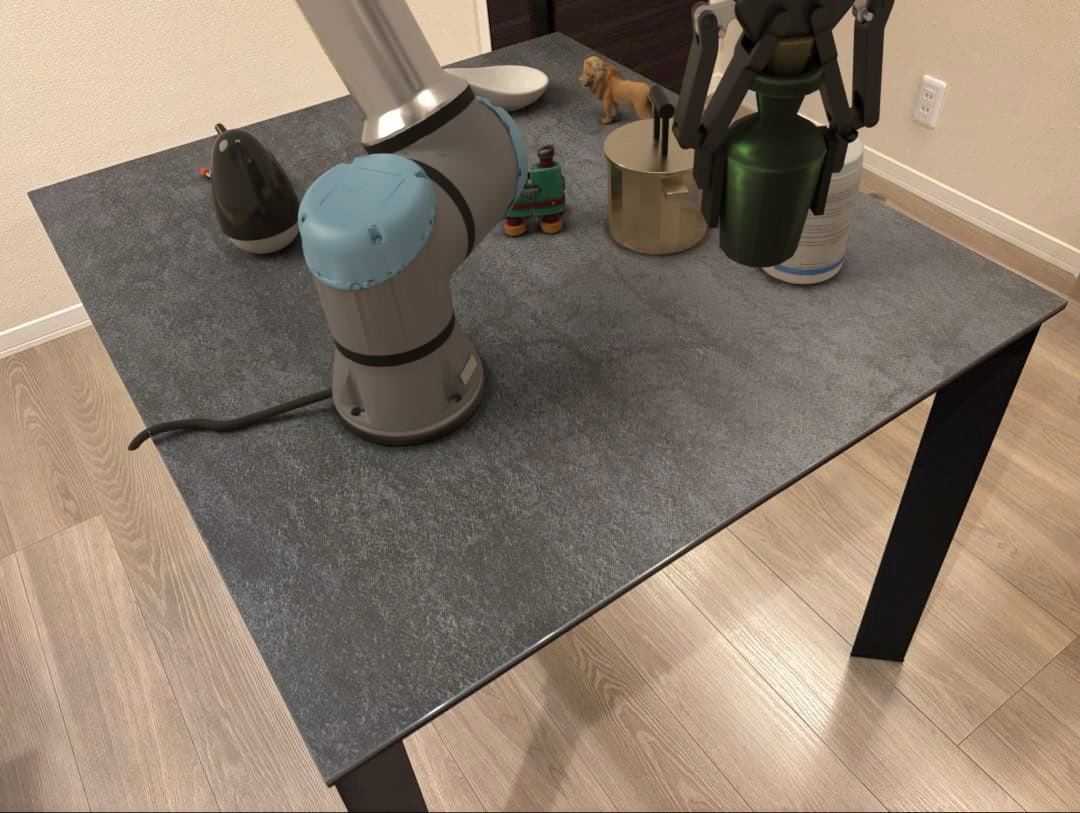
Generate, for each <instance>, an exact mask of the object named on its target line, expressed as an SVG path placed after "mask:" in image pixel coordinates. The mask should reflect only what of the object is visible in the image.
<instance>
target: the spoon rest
mask: <svg viewBox="0 0 1080 813" xmlns="http://www.w3.org/2000/svg"><path fill="white" fill-rule="evenodd" d="M442 69H443V70H444V71H446V72H447V73H450V74H453V75H456V76H459V77H461V78H464V79H466V80H467V81H468V84H469V85H470V87H471V89H472V91H473V93H474V95H475V96H479V97H483V98H486V99H488V100H490V101H492V105H493V106H495V107H501V108H503V109H504V110H505V111H506V112H515V111H520V110H522V109H524V108H526V107H527V106H529V105H531V104H533V103H534V102H536V101H537V100H539V98H540V97H541V96H542V95H543V94H544V92H545V91H546V90H547V88H548V86H549V82H550V81H549V80H550V79H549V77H548V76H547V75H546V73H544V72H543V71H542V70H540V69H537V68H534V67H531V66H524V65H516V64H515V65H513V64H507V65H493V66H484V67H483V66H482V67H456V68H455V67H451V68H442Z"/></svg>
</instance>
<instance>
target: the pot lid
mask: <svg viewBox="0 0 1080 813" xmlns="http://www.w3.org/2000/svg"><path fill="white" fill-rule="evenodd" d="M649 96H650V98H651V100H652V102H653V104H654V112H653V119H645V120H641V119H640V120H635V121H632V122H629V123H626V124H623V125H621V126H619V127H618V128H616V129H614V130H613V131H612V132H610V133H609V135H607V136H606V138H605V139H604V143H603V155H604V157H605V159H606V161H607V160H608V161H609V163H611V164H612V165H613V166H614V167H616V168H618V169H620V170H622V171H624V172H627V173H630V174H634V175H639V176H645V177H673V176H679V175H684V174H688V173H691V172H693V162H694V149H691V148H690V149H687V150H684V149H682V148H680V146H679V144H678V142H677V140H676V138H675V136H674V134H673V132H672V124H673V120H674V118H673V116H675V112H676V108H675V106H674V104H673V102H672V100H671V98H670V97H669V94H668V93H667V91H666V89H665V87H664V86H663V85H662V84H654V85H653V86H651V89H650V91H649Z"/></svg>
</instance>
